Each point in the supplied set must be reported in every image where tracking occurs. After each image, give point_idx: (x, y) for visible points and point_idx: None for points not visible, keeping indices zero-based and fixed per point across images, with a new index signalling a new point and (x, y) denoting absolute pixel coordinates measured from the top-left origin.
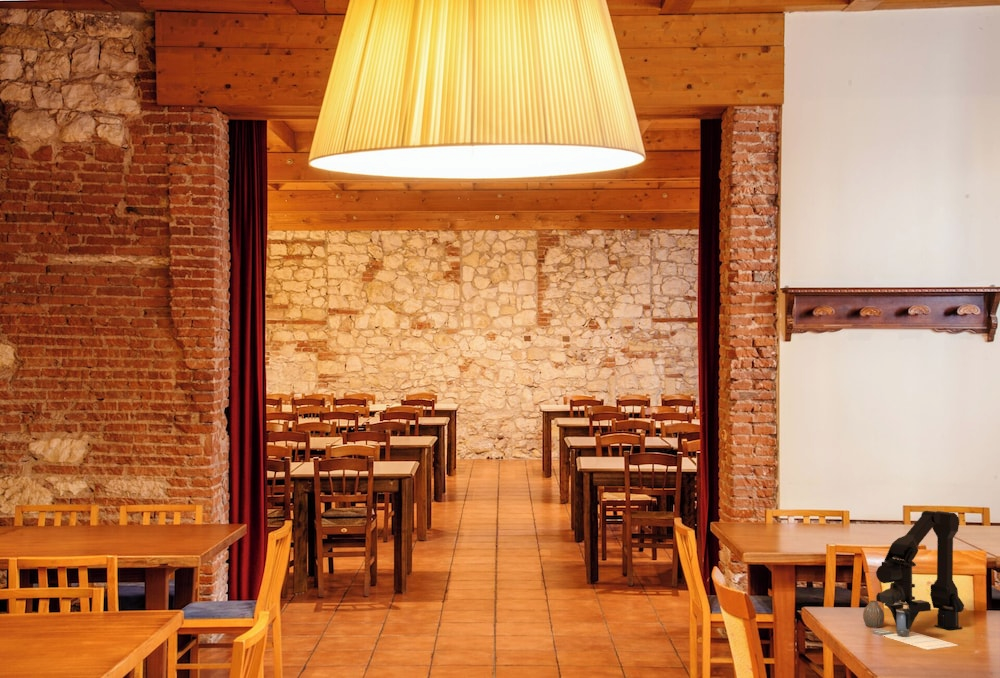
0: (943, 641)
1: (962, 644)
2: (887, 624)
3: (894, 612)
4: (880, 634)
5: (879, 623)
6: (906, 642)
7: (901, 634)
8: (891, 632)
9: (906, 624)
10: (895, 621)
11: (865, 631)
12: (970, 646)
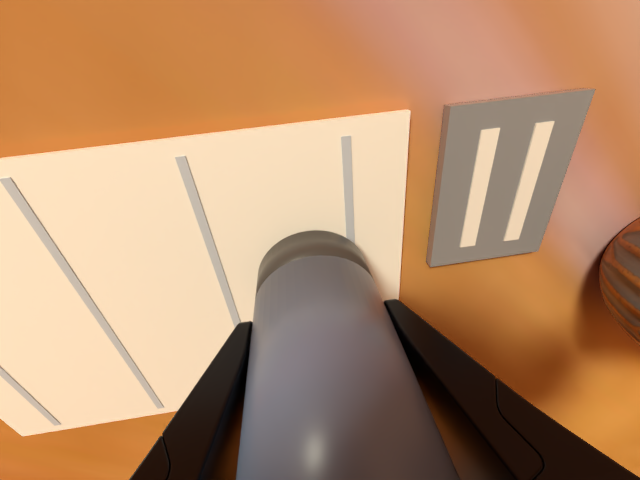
0: (117, 410)
1: (74, 453)
2: (597, 345)
3: (502, 461)
4: (448, 109)
5: (622, 273)
6: (60, 153)
7: (277, 246)
8: (437, 248)
9: (227, 362)
10: (421, 329)
11: (635, 57)
12: (25, 465)
